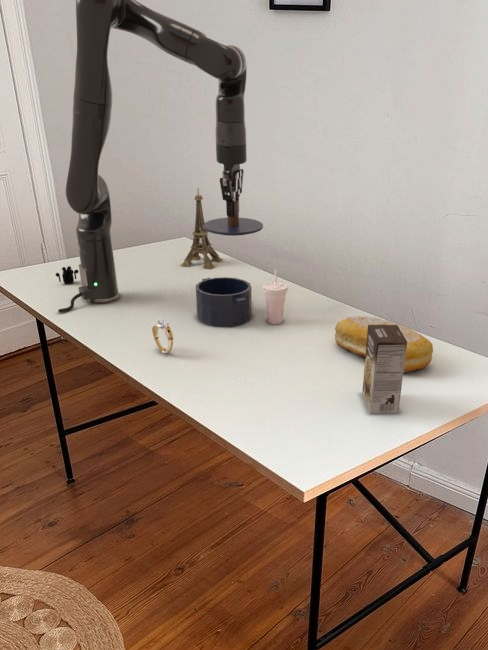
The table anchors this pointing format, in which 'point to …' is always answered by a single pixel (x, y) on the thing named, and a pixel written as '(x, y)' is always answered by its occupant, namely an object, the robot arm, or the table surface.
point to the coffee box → (384, 368)
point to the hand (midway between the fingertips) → (233, 214)
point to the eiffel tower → (202, 234)
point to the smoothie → (275, 300)
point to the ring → (165, 327)
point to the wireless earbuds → (67, 275)
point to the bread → (355, 328)
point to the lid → (233, 225)
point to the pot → (224, 301)
